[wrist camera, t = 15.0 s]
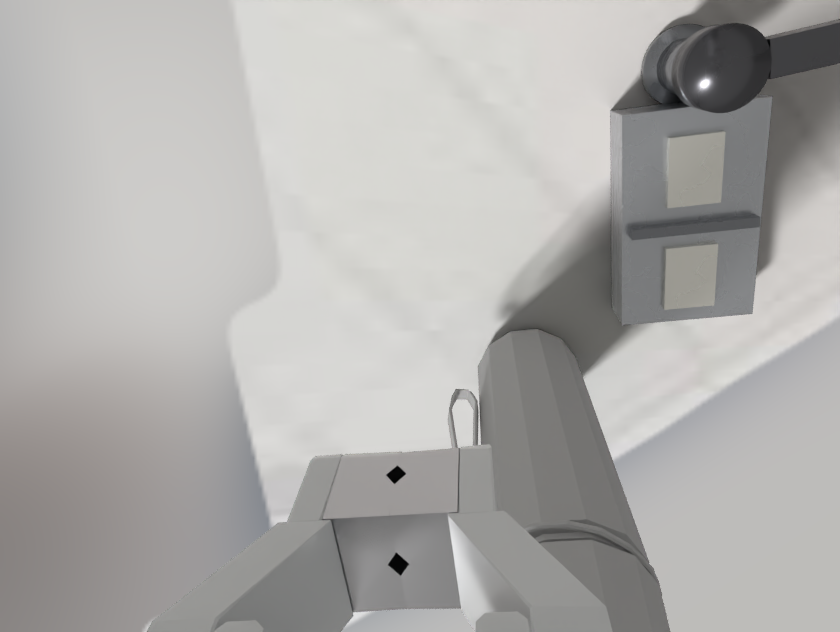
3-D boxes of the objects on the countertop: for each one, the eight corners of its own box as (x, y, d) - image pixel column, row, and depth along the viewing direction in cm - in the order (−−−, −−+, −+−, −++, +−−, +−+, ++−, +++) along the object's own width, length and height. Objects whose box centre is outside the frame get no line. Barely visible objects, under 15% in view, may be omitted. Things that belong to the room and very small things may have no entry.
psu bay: (610, 110, 37) (625, 116, 33) (749, 93, 36) (779, 97, 32) (611, 307, 42) (624, 330, 38) (733, 296, 41) (757, 318, 37)
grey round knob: (641, 30, 35) (665, 27, 31) (721, 19, 34) (756, 14, 30) (640, 110, 37) (663, 117, 32) (716, 100, 36) (749, 107, 32)
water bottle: (588, 326, 42) (732, 648, 20) (564, 420, 46) (663, 790, 23) (459, 308, 43) (451, 607, 20) (443, 403, 46) (422, 754, 23)
